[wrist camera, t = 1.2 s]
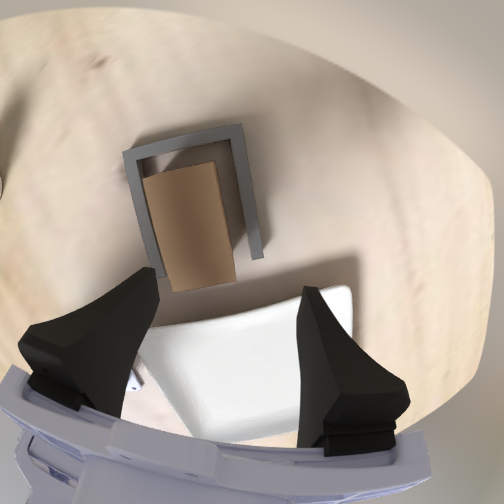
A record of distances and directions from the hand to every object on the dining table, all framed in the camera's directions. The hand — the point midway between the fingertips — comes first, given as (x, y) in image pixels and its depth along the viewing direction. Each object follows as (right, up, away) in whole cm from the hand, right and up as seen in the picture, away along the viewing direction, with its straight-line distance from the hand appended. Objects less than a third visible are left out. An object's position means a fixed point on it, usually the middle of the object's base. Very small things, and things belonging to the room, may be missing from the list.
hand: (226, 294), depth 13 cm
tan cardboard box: (-3, +5, +10) cm, 12 cm away
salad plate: (+2, -12, +17) cm, 21 cm away
